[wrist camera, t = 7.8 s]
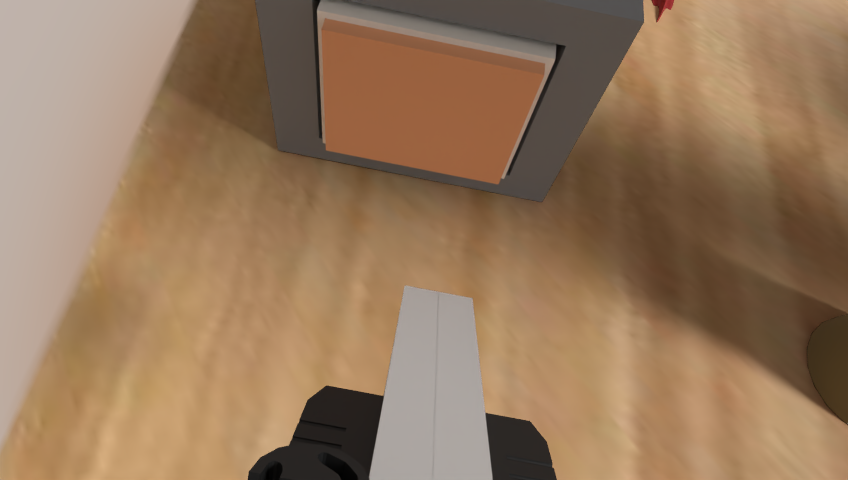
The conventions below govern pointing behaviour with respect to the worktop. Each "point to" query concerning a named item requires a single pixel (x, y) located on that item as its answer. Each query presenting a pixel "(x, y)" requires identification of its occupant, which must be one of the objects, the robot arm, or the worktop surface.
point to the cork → (831, 364)
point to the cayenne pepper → (662, 5)
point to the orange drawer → (426, 89)
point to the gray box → (478, 7)
